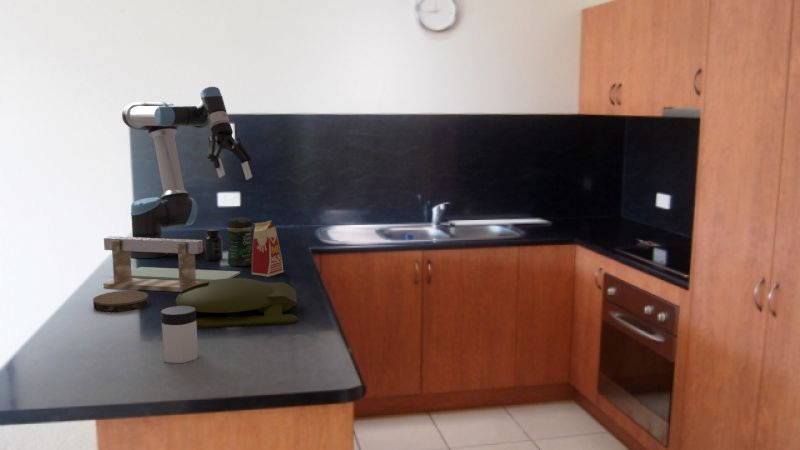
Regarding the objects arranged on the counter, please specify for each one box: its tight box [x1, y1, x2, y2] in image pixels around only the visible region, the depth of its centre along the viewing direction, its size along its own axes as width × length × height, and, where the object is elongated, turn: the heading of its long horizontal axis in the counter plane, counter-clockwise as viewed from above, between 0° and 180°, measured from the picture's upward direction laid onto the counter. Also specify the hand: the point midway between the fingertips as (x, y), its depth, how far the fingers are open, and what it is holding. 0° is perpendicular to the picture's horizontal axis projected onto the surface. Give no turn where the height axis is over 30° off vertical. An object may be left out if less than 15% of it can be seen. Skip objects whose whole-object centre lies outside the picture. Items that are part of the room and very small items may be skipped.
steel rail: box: [103, 235, 204, 255], centre depth 248 cm, size 34×4×4 cm, turn 79°
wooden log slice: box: [92, 290, 150, 313], centre depth 226 cm, size 16×16×3 cm
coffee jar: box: [226, 216, 254, 267], centre depth 285 cm, size 10×8×19 cm
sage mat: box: [131, 266, 241, 282], centre depth 267 cm, size 40×14×1 cm, turn 79°
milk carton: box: [251, 220, 284, 278], centre depth 270 cm, size 9×9×20 cm
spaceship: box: [175, 277, 299, 329], centre depth 219 cm, size 35×31×10 cm
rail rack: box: [103, 241, 203, 293], centre depth 249 cm, size 33×9×16 cm, turn 79°
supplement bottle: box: [204, 228, 224, 262], centre depth 296 cm, size 7×7×12 cm
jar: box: [160, 305, 199, 364], centre depth 178 cm, size 9×8×12 cm
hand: (236, 177), depth 272 cm, fingers open, 13 cm apart
